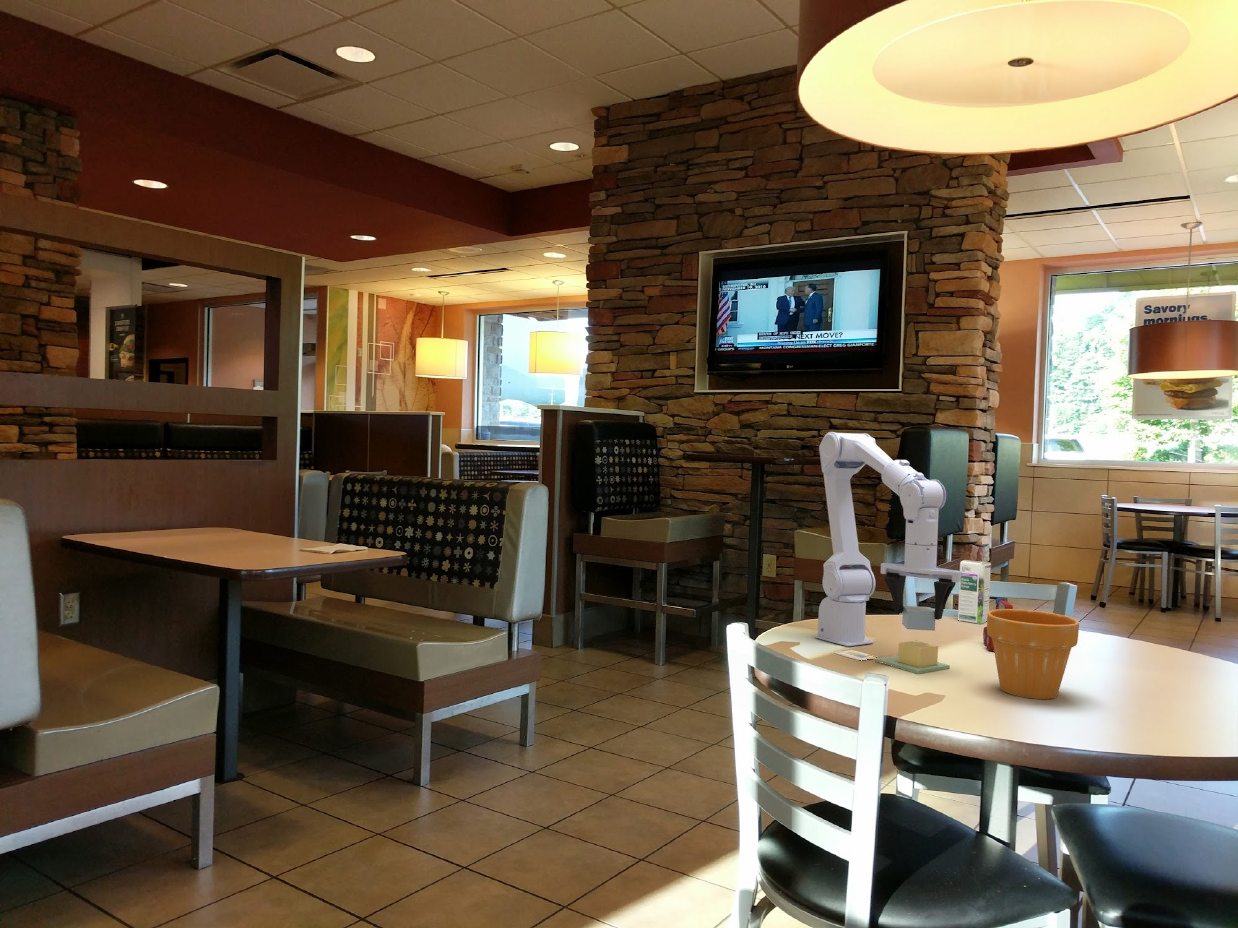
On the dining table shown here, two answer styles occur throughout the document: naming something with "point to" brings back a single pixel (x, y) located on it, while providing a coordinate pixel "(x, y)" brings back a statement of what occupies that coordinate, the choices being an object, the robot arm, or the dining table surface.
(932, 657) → the brick
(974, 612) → the syrup box
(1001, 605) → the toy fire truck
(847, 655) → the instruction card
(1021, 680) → the flower pot
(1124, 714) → the dining table surface
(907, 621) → the brick
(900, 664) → the plate
